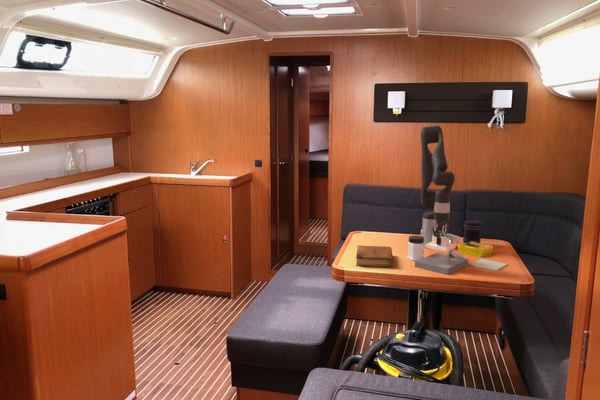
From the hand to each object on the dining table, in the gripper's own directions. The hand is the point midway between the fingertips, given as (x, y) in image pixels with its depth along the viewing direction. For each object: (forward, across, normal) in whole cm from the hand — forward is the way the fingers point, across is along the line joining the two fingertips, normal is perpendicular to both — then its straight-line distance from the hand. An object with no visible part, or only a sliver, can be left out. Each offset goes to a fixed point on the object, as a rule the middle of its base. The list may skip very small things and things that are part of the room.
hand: (440, 243), depth 246 cm
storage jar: (+13, +52, +7) cm, 54 cm away
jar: (+13, +4, +16) cm, 21 cm away
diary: (+13, -14, +30) cm, 36 cm away
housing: (+12, +3, 0) cm, 13 cm away
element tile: (+13, +39, -1) cm, 42 cm away
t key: (+9, +11, -2) cm, 14 cm away
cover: (+2, 0, 0) cm, 2 cm away
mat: (+12, +21, -17) cm, 29 cm away
